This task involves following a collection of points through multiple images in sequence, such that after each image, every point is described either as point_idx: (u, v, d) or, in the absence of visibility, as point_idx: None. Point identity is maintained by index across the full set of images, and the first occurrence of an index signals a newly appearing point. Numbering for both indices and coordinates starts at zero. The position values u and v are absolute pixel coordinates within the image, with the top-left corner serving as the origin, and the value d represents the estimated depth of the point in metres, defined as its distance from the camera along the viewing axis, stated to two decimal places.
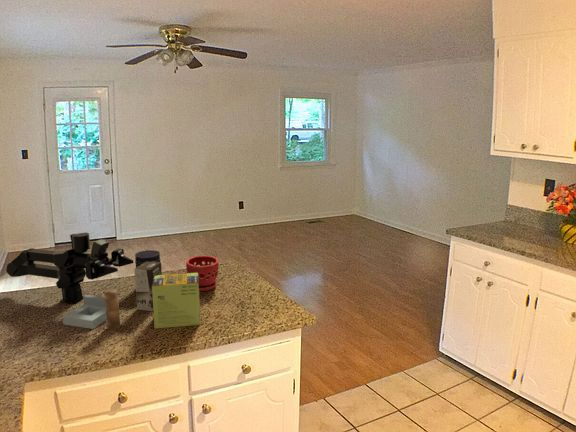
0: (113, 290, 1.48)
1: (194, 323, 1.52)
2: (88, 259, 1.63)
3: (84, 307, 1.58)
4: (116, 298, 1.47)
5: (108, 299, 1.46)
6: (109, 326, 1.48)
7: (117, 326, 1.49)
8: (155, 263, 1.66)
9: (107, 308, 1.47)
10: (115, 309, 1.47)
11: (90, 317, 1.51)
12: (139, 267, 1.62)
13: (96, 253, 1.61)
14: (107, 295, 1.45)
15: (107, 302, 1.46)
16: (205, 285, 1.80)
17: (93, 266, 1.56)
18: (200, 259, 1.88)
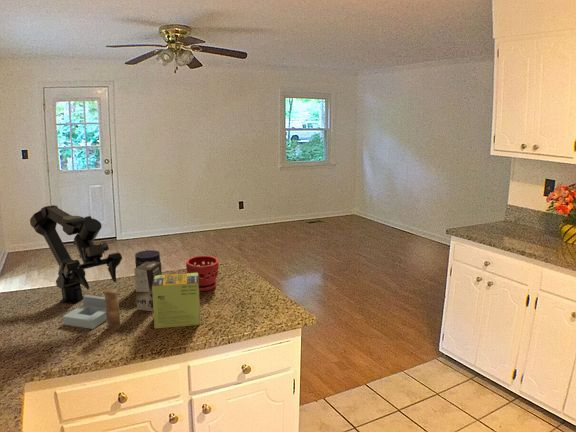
0: (113, 290, 1.48)
1: (194, 323, 1.52)
2: (82, 250, 1.54)
3: (84, 307, 1.58)
4: (116, 298, 1.47)
5: (108, 299, 1.46)
6: (109, 326, 1.48)
7: (117, 326, 1.49)
8: (155, 263, 1.66)
9: (107, 308, 1.47)
10: (115, 309, 1.47)
11: (90, 317, 1.51)
12: (139, 267, 1.62)
13: (87, 255, 1.51)
14: (107, 295, 1.45)
15: (107, 302, 1.46)
16: (205, 285, 1.80)
17: (71, 270, 1.48)
18: (200, 259, 1.88)
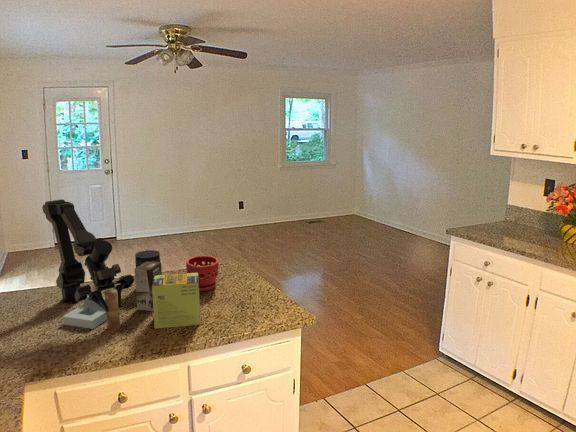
0: (113, 290, 1.48)
1: (194, 323, 1.52)
2: (93, 273, 1.49)
3: (84, 307, 1.58)
4: (116, 298, 1.47)
5: (108, 299, 1.46)
6: (109, 326, 1.48)
7: (117, 326, 1.49)
8: (155, 263, 1.66)
9: None
10: (115, 309, 1.47)
11: (90, 317, 1.51)
12: (139, 267, 1.62)
13: (99, 278, 1.46)
14: (107, 295, 1.45)
15: (107, 302, 1.46)
16: (205, 285, 1.80)
17: (90, 292, 1.45)
18: (200, 259, 1.88)
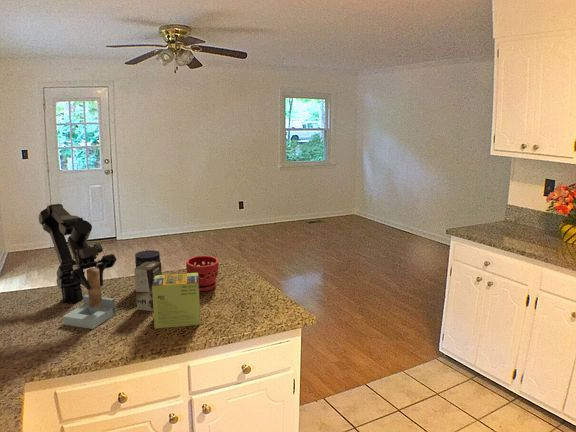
0: (95, 269, 1.51)
1: (194, 323, 1.52)
2: (75, 252, 1.52)
3: (84, 307, 1.58)
4: (98, 276, 1.50)
5: (90, 277, 1.49)
6: (91, 304, 1.51)
7: (99, 304, 1.52)
8: (155, 263, 1.66)
9: None
10: (97, 287, 1.50)
11: (90, 317, 1.51)
12: (139, 267, 1.62)
13: (81, 257, 1.49)
14: (89, 273, 1.48)
15: (89, 280, 1.49)
16: (205, 285, 1.80)
17: (72, 271, 1.48)
18: (200, 259, 1.88)
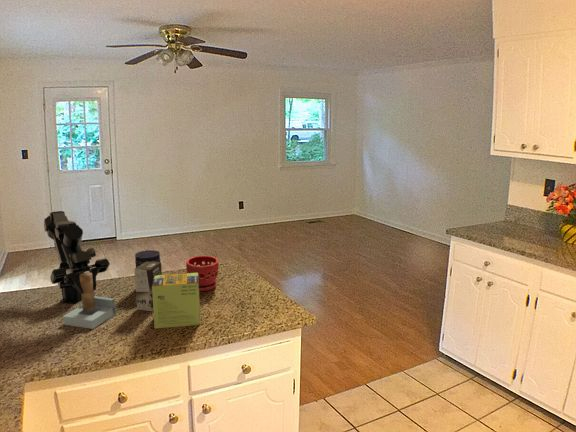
0: (88, 273, 1.53)
1: (194, 323, 1.52)
2: (69, 256, 1.55)
3: None
4: (91, 280, 1.52)
5: (83, 281, 1.51)
6: (84, 308, 1.53)
7: (92, 308, 1.54)
8: (155, 263, 1.66)
9: None
10: (90, 291, 1.53)
11: (90, 317, 1.51)
12: (139, 267, 1.62)
13: (74, 261, 1.52)
14: (82, 277, 1.51)
15: (82, 284, 1.51)
16: (205, 285, 1.80)
17: (66, 275, 1.50)
18: (200, 259, 1.88)
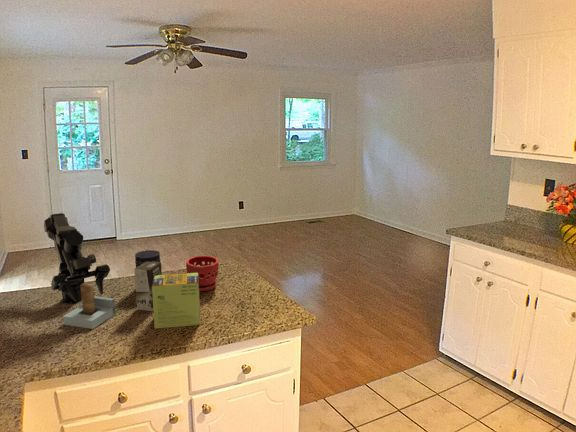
0: (89, 283, 1.54)
1: (194, 323, 1.52)
2: (70, 262, 1.55)
3: None
4: (92, 291, 1.53)
5: (84, 292, 1.52)
6: None
7: None
8: (155, 263, 1.66)
9: (83, 300, 1.53)
10: (91, 301, 1.53)
11: (90, 317, 1.51)
12: (139, 267, 1.62)
13: (74, 268, 1.52)
14: (83, 288, 1.51)
15: (83, 294, 1.52)
16: (205, 285, 1.80)
17: (59, 283, 1.49)
18: (200, 259, 1.88)
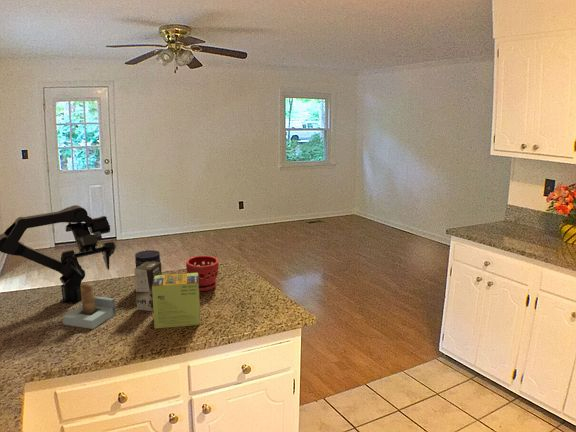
0: (89, 283, 1.54)
1: (194, 323, 1.52)
2: (78, 239, 1.65)
3: None
4: (92, 291, 1.53)
5: (84, 292, 1.52)
6: None
7: None
8: (155, 263, 1.66)
9: (83, 300, 1.53)
10: (91, 301, 1.53)
11: (90, 317, 1.51)
12: (139, 267, 1.62)
13: (82, 244, 1.62)
14: (83, 288, 1.51)
15: (83, 294, 1.52)
16: (205, 285, 1.80)
17: (67, 258, 1.59)
18: (200, 259, 1.88)
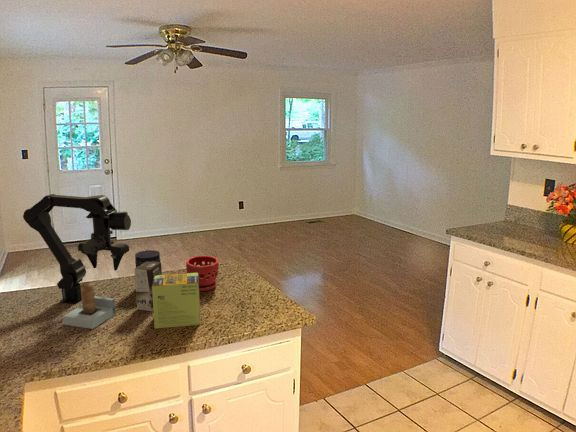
0: (89, 283, 1.54)
1: (194, 323, 1.52)
2: None
3: None
4: (92, 291, 1.53)
5: (84, 292, 1.52)
6: None
7: None
8: (155, 263, 1.66)
9: (83, 300, 1.53)
10: (91, 301, 1.53)
11: (90, 317, 1.51)
12: (139, 267, 1.62)
13: None
14: (83, 288, 1.51)
15: (83, 294, 1.52)
16: (205, 285, 1.80)
17: None
18: (200, 259, 1.88)
